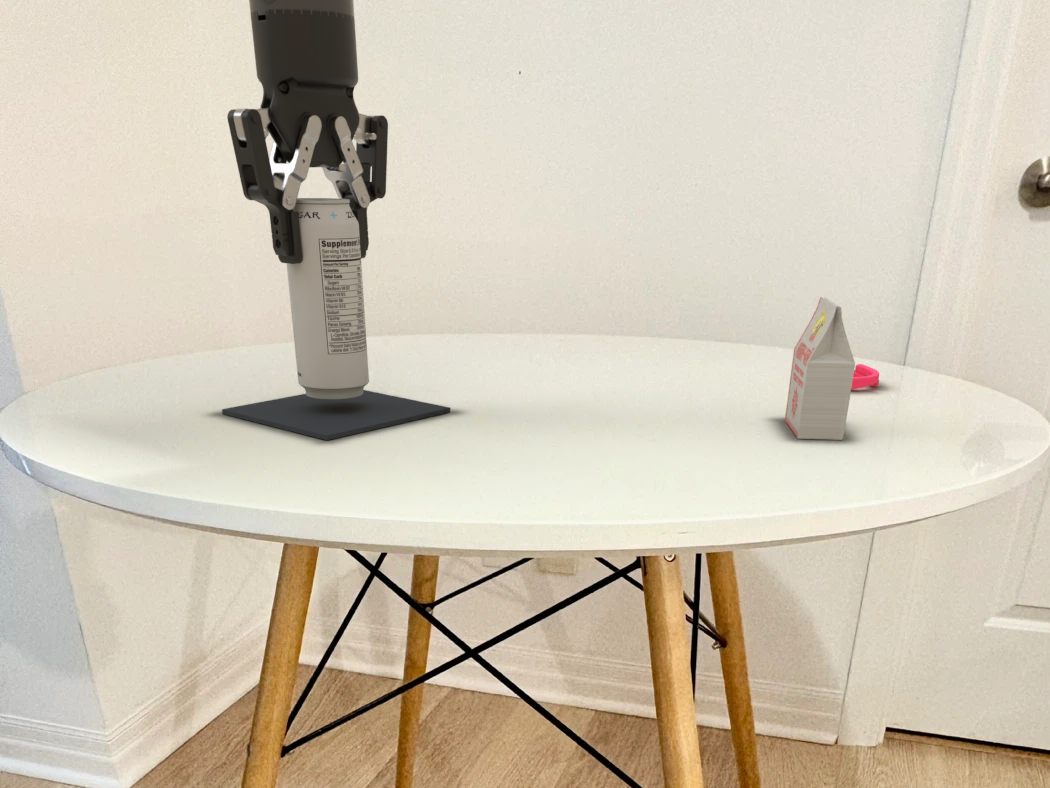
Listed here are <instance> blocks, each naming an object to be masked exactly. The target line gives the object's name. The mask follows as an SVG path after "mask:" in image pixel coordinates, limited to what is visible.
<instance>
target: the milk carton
mask: <svg viewBox="0 0 1050 788" xmlns="http://www.w3.org/2000/svg"><path fill="white" fill-rule="evenodd" d="M842 312H843V311H842V306H840V305H838V304H836V302H834V301H832V300H830V299H829V298H827V297H823V296H822V297H821V296H820V297H819V300H818V303H817V306H816V309H815V311H814V313H813V315H812V316H811V319H810V321H809V323H808V324H807V326H806V328H805V329H804V331H803V333H802V334H801V336H800V338H799V339H798V341H797V343H796V345H795V346H794V348H793V355H792V363H791V369H790V370H791V371H790V376H789V386H788V392H787V393H788V394H787V401H786V408H785V410H786V411H785V416H784V421H785V422H786V424H787V425H788V427H789V428H790V430H791V431H792V433H793V435H794V436H795V437H796V439H800V440H802V439H803V440H832V441H833V440H834V441H835V440H836V441H838V440H840V441H843V440H844V437H845V432H846V431H845V430H846V424H847V418H848V412H849V406H850V400H851V392H852V389H851V387H852V381H853V375H854V370H855V368H856V362H855V358H854V355H853V352H852V349H851V346H850V342H849V339H848V336H847V334H846V330H845V326H844V321H843V317H842V316H843V314H842Z"/></svg>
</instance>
